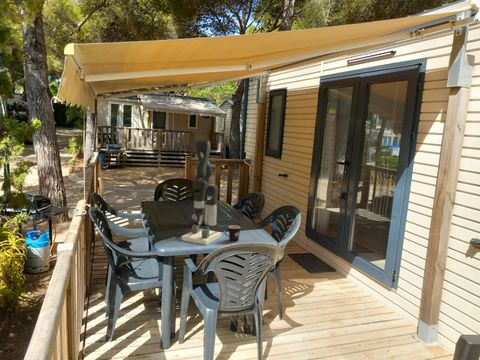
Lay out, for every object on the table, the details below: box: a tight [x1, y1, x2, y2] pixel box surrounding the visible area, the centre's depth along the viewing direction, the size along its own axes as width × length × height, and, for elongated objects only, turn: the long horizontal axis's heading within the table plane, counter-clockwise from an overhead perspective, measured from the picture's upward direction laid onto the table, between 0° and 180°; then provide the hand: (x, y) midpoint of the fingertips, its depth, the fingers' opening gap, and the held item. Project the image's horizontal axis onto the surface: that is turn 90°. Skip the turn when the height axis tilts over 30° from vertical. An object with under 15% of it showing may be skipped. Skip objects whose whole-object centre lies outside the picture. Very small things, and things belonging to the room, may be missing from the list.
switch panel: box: [181, 228, 222, 245], centre depth 278 cm, size 24×20×3 cm
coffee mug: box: [224, 225, 241, 243], centre depth 276 cm, size 12×9×10 cm
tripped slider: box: [191, 224, 199, 233], centre depth 281 cm, size 4×4×5 cm
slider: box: [202, 228, 210, 238], centre depth 270 cm, size 4×4×5 cm
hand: (198, 229), depth 285 cm, fingers closed
